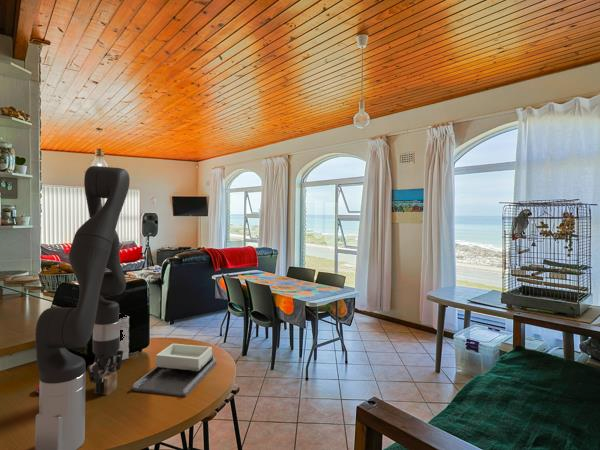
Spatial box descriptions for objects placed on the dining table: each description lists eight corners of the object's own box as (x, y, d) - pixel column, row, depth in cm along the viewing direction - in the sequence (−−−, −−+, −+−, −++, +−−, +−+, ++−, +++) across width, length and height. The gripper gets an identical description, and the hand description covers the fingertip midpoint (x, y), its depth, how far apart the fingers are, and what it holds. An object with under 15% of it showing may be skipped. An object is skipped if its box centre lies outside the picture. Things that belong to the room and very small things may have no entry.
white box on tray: (198, 375, 124) (198, 359, 124) (155, 371, 126) (156, 355, 126) (211, 361, 135) (212, 347, 135) (172, 358, 138) (172, 343, 138)
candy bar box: (100, 355, 141) (100, 313, 141) (112, 351, 146) (113, 311, 145) (117, 362, 135) (117, 319, 135) (129, 358, 140) (130, 316, 139)
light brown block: (107, 394, 112) (107, 378, 112) (94, 393, 113) (94, 377, 113) (116, 388, 116) (117, 372, 116) (104, 386, 117) (104, 371, 117)
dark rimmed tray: (185, 396, 112) (186, 383, 112) (132, 390, 115) (132, 378, 115) (216, 364, 137) (216, 353, 137) (171, 359, 139) (171, 349, 139)
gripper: (101, 344, 106) (100, 402, 107) (131, 329, 121) (130, 380, 121) (78, 342, 108) (77, 399, 108) (110, 327, 122) (110, 378, 122)
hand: (105, 389), depth 115 cm, fingers closed on light brown block, 4 cm apart
